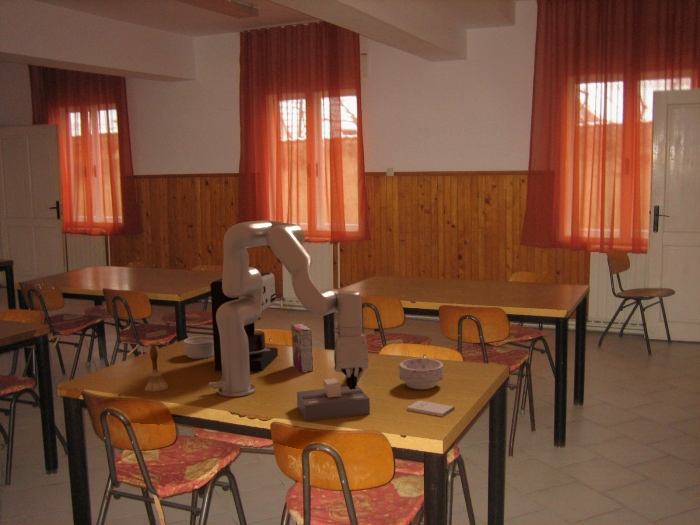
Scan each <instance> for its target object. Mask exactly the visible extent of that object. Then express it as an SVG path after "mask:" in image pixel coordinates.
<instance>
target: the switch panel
mask: <svg viewBox="0 0 700 525" xmlns="http://www.w3.org/2000/svg"><path fill="white" fill-rule="evenodd" d="M296 404H297V405H296V406H297V409H298V412H300V414H301V416H302V418H303V419H304V421H305V422H313V421H321V420H331V419H332V420H333V419H339V418H347V417H356V416H365V415H371V410H370V408H371V407H370V406H371V404H370V397H369V396H368V395H367V394H366V393H365V391H363V389H361V387H360V386H359V385H358V384H357V386H356V389H352V390H350V389H349V388H348V387H347V386H341V396H338V397H329V398H328V397H327V395H326V394H325V393H324V388H321V389H311V390H302V391H296Z"/></svg>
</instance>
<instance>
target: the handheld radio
mask: <svg viewBox="0 0 700 525" xmlns="http://www.w3.org/2000/svg"><path fill="white" fill-rule="evenodd" d="M352 370H353V368H350V374H352ZM364 371H365V369H364V370H362V371H361V372H360V373H359V374H358V376H357V383H359V382H358V381H359V380H360V379H361V376H362V375H363V373H364Z"/></svg>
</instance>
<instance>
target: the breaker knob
mask: <svg viewBox="0 0 700 525" xmlns="http://www.w3.org/2000/svg"><path fill="white" fill-rule="evenodd" d="M341 387H342V386H341V382H340V381H339V380H338V379H337V377H336V378H328V379H327V378H326V379H325V378H324V379H323V389H324V393H325V394H326V395H327V397H328V398H329V397H338V396H341Z"/></svg>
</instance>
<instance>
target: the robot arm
mask: <svg viewBox="0 0 700 525" xmlns="http://www.w3.org/2000/svg"><path fill="white" fill-rule="evenodd" d="M305 240H306V236H305V233H304V230H303V228H301V226H299V225H297V224H294V223H288V222H282V221H276V220H266V219H265V220H263V219H261V220H251V221H245V222H240V223H236V224H233V225H232V226H230V227H229V228H228V229H227V230H226V232H225V234H224V237H223V243H222V245H223V246H222V247H223V263H222V264H223V265H222V277H221V278H222V289H223V292H224V294H225V295H226V296H227V297H230V298H237V297H239V299H237V300H233V301H229V302H226V303H224V304H222V305H221V306H220V307H219V308H218V310H217V313H216V321H217V325H218V329H219V335H220V347H221V364H222V371H221V377H220V379H219V380H218V381H211V382H208V388H209V389H211V388H212V389H215V390H216V389H217V391H218V392H217V393H218V394H219V395H220V396H222V397H229V398H236V397H238V398H239V397H244V396H248V395H251V394H254V392H256V386H255V385H254V384H252V383H251V372H250V363H249V343H248V337H247V334H246V332H245V330H244V326H246V325H249V324H251V323H254V324H255V322H257V321H259V320H258V319H259V317H260V318H261V314H262V312H261V310H262V297H263V279H262V276H261V274H260V273H261V272H260V271H259V270H258V269H257V268H255V267H253V266H250V256H249V255H250V254H249V251H248V250H247V249H249V248H255V247H257V248H258V247H262V246H269V248H270V249H271V250H272V252H273V253H274V254H275V256H276V257H277V258H278V260H279V261H280V263H282V266H284V268H285V269H286V270H287V271H288V273H289V275H290V279H291V284H292V287H293V292H294V294H295V296H296V298H297V299H298V301H299V302H300V303H301V305H302V306H303V308H304V309H305V310H306V311H307V312H308V313H309V314H311V315H312V316H313V317H316V318H317V317H318V318H319V317H324V316H327V315H329V314H333V313H337V326H336V328H333V333H334V334H335V333H336V334H337V335H336V337H335V342H334V356H333V358H334V362H333V363H334V368H333V370H334V371H335V372H337V373H343V374H344V375H345V376H346V377H345V379H346V381H345V383H346V387H348V388H349V389H350V390H352V389H356V386H357V385H358V382H357V376H358V374H359V373H360V372H361V371H362V370H364V371H365V370H367V369H368V368H369V351H368V349H369V348H368V344H367V343H368V342H367V337H366V334H364V333H363V313H362V312H363V310H362V308H363V305H362V304H363V303H362V300H363V299H362V293H360V292H359V291H357V290H356V291H355V290H342V289H337V288H327V289H325V290H320V291H319V289H318V288H317V286H315V284H314V282H313V281H312V278H311V276H310V267H311V266H312V265H313V259H312V256H311V255H310V254H309V253H308V251H307V250H306V249H305V247H304V246H303V245H304V243H305ZM350 368H353V370H352V374H350Z"/></svg>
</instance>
